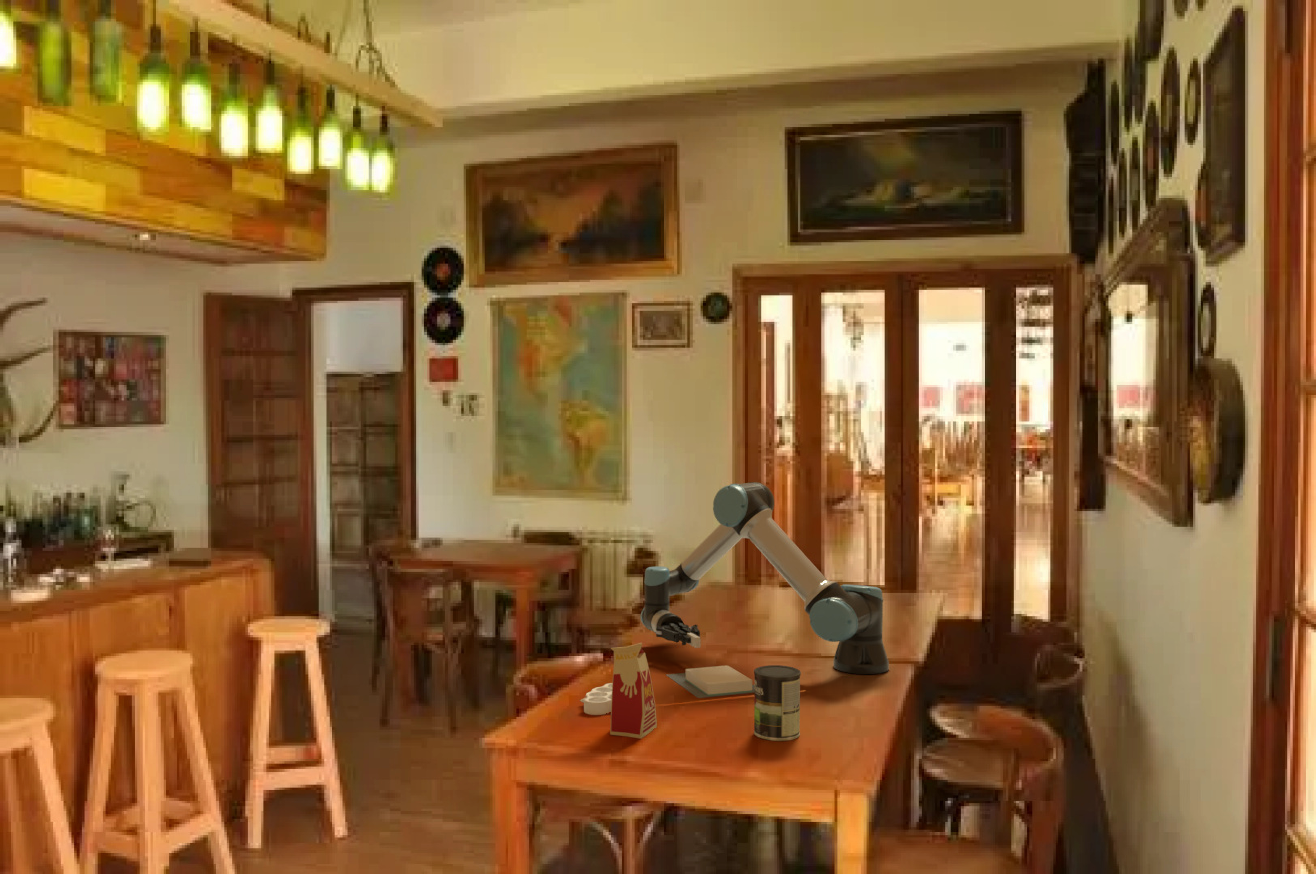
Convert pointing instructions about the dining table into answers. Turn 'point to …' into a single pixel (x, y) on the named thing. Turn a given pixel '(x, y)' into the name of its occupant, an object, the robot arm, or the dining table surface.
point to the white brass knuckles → (598, 700)
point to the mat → (689, 687)
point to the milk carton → (632, 694)
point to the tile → (718, 680)
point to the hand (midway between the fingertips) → (697, 642)
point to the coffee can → (777, 702)
